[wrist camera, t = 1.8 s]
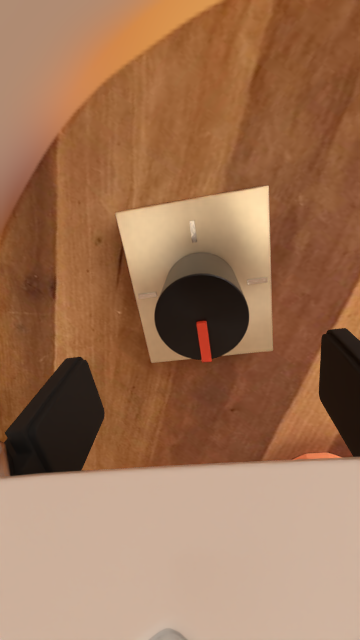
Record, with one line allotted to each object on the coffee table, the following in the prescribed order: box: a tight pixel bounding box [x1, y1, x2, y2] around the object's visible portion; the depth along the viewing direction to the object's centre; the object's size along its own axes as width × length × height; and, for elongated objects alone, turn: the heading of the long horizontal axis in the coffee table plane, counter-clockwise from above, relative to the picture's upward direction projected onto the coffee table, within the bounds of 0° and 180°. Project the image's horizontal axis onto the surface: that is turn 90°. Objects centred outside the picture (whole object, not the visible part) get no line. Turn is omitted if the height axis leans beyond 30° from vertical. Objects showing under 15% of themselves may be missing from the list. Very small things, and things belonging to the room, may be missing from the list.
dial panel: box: [115, 185, 273, 363], centre depth 21 cm, size 12×10×3 cm
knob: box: [154, 252, 249, 362], centre depth 17 cm, size 5×5×6 cm
